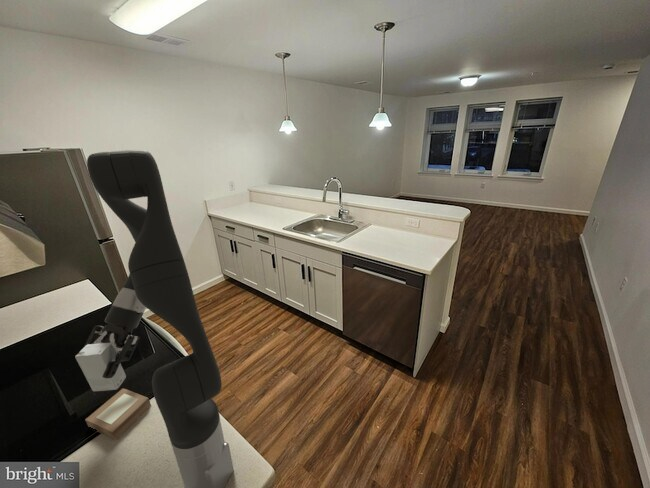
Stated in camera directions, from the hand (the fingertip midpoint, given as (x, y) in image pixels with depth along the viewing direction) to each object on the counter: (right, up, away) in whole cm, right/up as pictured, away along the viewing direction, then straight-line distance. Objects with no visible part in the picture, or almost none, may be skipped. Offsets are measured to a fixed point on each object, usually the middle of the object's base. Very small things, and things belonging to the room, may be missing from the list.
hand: (96, 373), depth 66 cm
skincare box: (0, -5, +3) cm, 6 cm away
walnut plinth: (0, -15, +7) cm, 17 cm away
